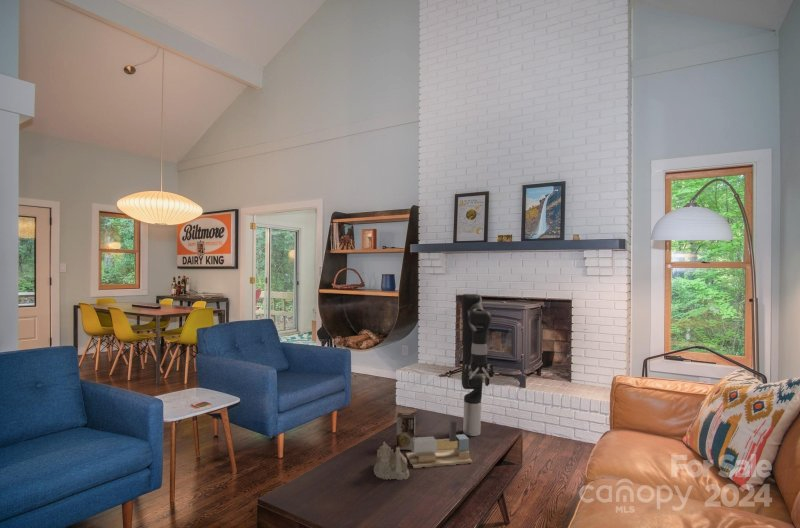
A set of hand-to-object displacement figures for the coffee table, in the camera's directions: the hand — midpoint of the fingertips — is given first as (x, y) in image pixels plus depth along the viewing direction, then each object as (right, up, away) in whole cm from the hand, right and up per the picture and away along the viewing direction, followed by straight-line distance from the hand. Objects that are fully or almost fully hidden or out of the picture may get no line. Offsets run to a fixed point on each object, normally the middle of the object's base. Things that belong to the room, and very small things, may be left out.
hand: (478, 386), depth 218 cm
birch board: (-20, -33, -6) cm, 39 cm away
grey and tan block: (-27, -31, -8) cm, 42 cm away
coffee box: (-35, -32, +7) cm, 48 cm away
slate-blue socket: (-9, -32, -4) cm, 33 cm away
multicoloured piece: (-16, -27, -5) cm, 32 cm away
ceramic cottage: (-41, -33, -20) cm, 56 cm away
